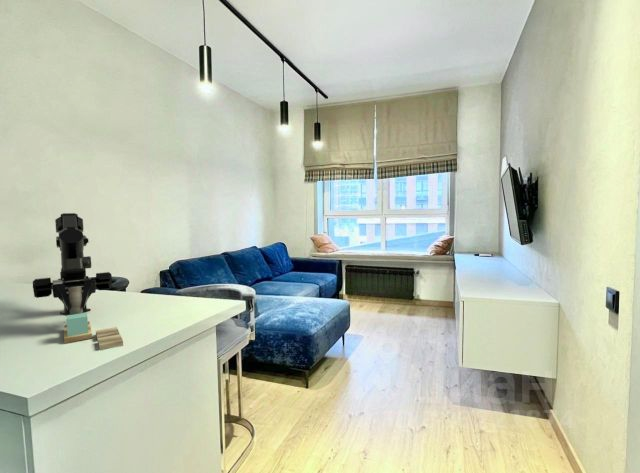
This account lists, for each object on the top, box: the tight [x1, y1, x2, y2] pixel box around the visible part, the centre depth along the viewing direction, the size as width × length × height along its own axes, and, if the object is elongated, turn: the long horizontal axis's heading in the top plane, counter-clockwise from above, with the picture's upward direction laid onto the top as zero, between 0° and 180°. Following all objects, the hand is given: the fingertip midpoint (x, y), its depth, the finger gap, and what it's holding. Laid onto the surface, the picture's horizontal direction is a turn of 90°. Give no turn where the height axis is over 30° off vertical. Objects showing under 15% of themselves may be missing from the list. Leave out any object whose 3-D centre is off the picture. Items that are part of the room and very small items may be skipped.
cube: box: [65, 312, 89, 336], centre depth 94 cm, size 4×4×4 cm
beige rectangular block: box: [95, 326, 124, 351], centre depth 92 cm, size 14×5×1 cm, turn 36°
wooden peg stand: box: [63, 286, 93, 344], centre depth 97 cm, size 14×6×12 cm, turn 36°
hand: (76, 308), depth 99 cm, fingers closed on wooden peg stand, 3 cm apart
